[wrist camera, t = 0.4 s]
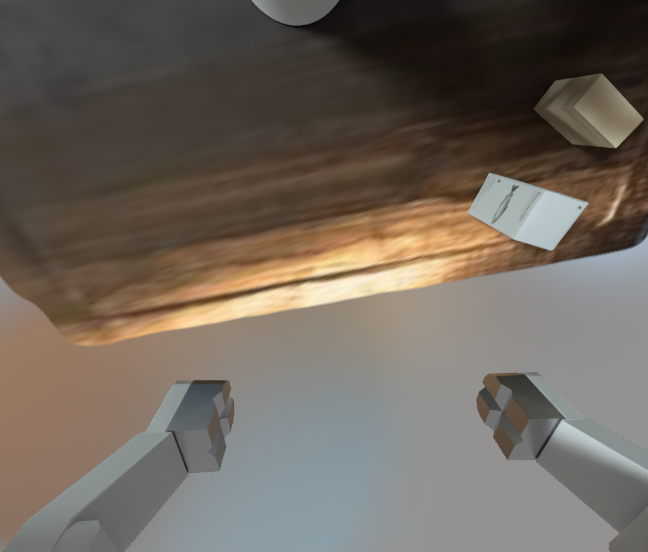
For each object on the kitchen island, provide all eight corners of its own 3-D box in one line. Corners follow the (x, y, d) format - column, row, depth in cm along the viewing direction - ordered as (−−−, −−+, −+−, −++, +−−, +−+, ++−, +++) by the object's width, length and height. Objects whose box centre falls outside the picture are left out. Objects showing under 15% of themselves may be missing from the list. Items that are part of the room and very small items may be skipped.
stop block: (572, 144, 43) (616, 148, 37) (533, 109, 40) (573, 107, 34) (594, 119, 42) (643, 119, 36) (555, 80, 39) (601, 73, 33)
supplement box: (488, 171, 45) (548, 187, 34) (523, 183, 46) (592, 203, 35) (464, 213, 48) (512, 240, 37) (498, 223, 50) (554, 252, 39)
